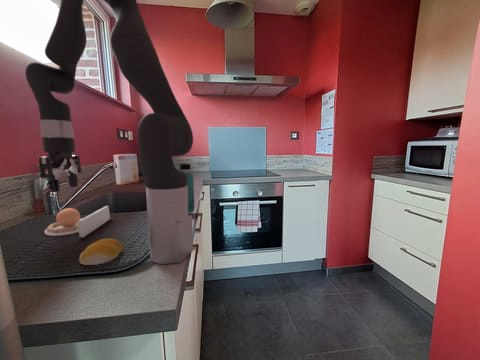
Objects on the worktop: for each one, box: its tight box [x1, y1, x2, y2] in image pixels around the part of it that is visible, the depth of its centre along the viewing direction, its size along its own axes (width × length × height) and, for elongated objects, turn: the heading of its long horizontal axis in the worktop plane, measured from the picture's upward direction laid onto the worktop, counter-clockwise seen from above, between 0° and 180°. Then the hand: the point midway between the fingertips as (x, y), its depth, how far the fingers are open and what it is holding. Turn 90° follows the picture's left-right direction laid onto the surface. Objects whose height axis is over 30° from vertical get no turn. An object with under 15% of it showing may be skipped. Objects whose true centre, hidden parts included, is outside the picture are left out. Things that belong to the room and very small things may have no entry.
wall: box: [78, 205, 111, 238], centre depth 70 cm, size 16×1×5 cm, turn 7°
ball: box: [55, 207, 81, 227], centre depth 69 cm, size 6×6×6 cm
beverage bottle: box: [179, 163, 195, 214], centre depth 82 cm, size 6×7×20 cm
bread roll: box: [78, 238, 123, 266], centre depth 51 cm, size 8×9×4 cm
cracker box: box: [113, 153, 140, 186], centre depth 151 cm, size 14×6×21 cm, turn 152°
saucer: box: [44, 217, 84, 237], centre depth 69 cm, size 12×12×2 cm
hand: (65, 189), depth 67 cm, fingers open, 8 cm apart
